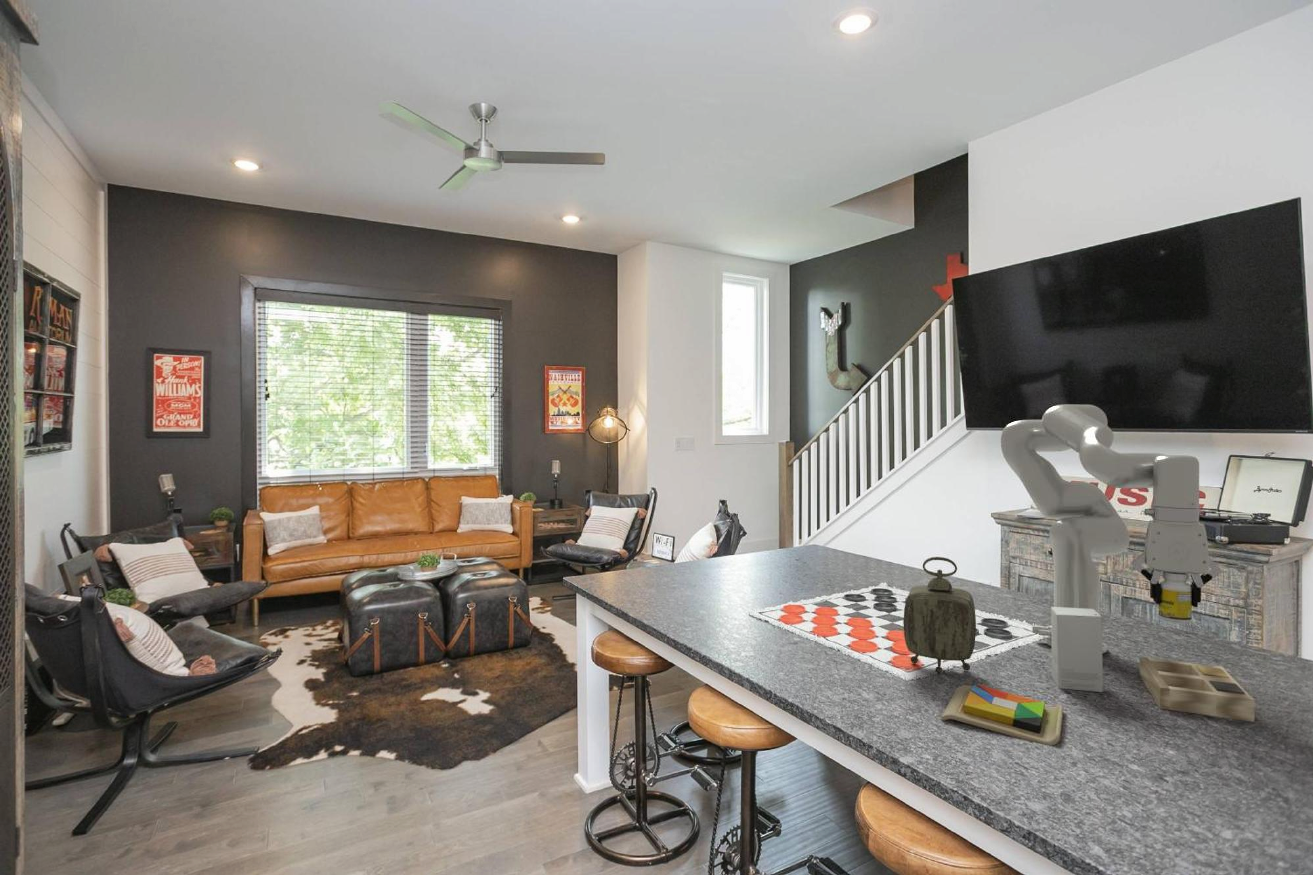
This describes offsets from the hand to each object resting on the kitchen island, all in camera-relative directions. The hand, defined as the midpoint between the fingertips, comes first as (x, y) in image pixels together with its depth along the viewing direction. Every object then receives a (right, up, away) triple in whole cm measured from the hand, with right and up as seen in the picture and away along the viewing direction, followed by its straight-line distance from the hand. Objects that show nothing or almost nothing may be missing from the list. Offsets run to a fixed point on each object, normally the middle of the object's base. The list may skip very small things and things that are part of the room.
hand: (1175, 603), depth 140 cm
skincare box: (-19, -18, +1) cm, 26 cm away
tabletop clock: (-44, -18, +10) cm, 49 cm away
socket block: (0, -17, -5) cm, 18 cm away
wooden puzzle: (-42, -18, -13) cm, 48 cm away
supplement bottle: (0, -4, 0) cm, 4 cm away
